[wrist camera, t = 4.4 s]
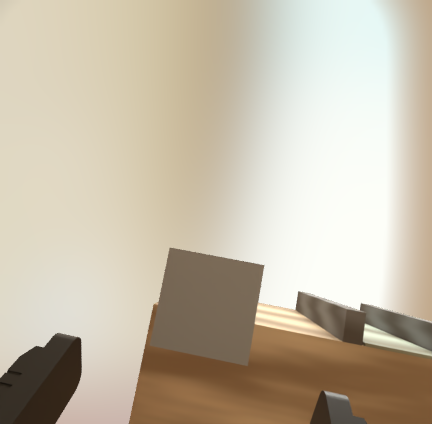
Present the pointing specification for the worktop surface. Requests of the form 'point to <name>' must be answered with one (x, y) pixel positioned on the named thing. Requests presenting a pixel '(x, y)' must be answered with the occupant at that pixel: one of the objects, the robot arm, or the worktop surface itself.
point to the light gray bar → (207, 306)
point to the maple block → (296, 370)
